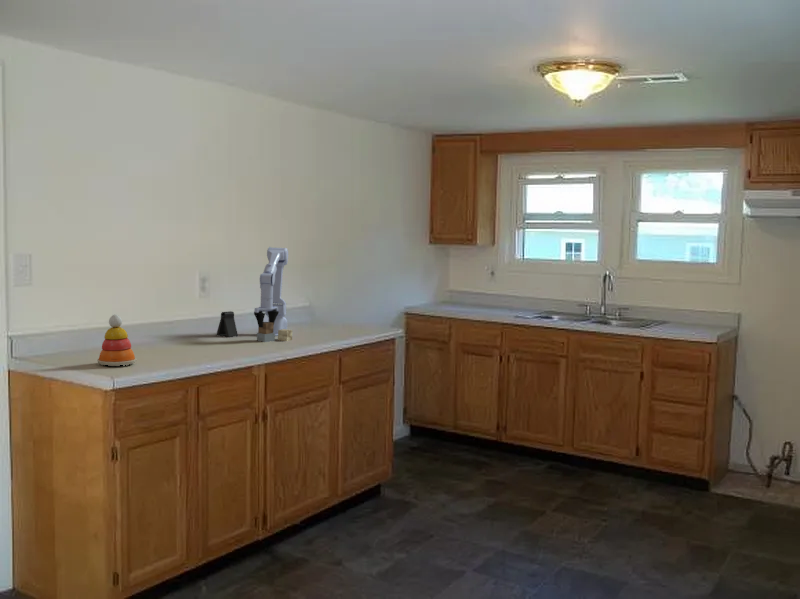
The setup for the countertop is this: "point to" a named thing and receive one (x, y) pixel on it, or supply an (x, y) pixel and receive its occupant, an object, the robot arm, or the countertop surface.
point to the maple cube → (285, 335)
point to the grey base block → (266, 337)
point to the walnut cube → (266, 328)
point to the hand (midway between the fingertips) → (266, 326)
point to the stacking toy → (116, 345)
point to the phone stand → (227, 325)
